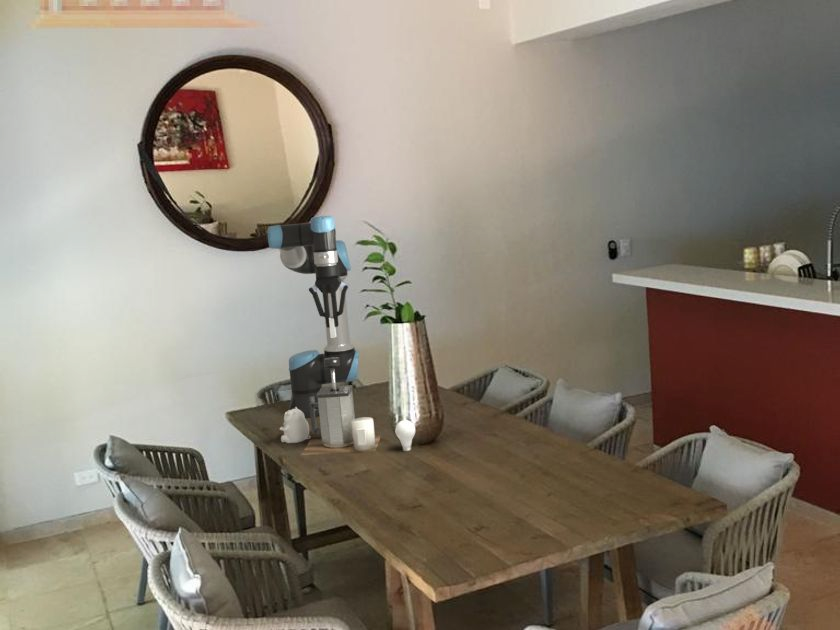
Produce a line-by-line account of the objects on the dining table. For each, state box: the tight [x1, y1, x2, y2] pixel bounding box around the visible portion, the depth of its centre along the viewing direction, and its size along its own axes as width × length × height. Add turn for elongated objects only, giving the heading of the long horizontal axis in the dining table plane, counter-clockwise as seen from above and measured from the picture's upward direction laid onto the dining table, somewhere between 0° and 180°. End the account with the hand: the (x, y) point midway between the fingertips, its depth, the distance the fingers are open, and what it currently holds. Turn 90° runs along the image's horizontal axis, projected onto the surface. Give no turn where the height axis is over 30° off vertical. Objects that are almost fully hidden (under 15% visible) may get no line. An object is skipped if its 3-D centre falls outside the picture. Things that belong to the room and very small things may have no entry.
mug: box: [351, 416, 376, 452], centre depth 278 cm, size 9×7×9 cm
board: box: [300, 434, 382, 456], centre depth 284 cm, size 16×24×2 cm, turn 87°
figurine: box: [278, 407, 311, 444], centre depth 295 cm, size 10×10×12 cm
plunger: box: [324, 357, 340, 391], centre depth 283 cm, size 8×8×18 cm
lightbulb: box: [394, 419, 416, 452], centre depth 273 cm, size 6×6×11 cm
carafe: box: [309, 384, 356, 448], centre depth 285 cm, size 11×14×18 cm
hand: (333, 337), depth 282 cm, fingers closed
